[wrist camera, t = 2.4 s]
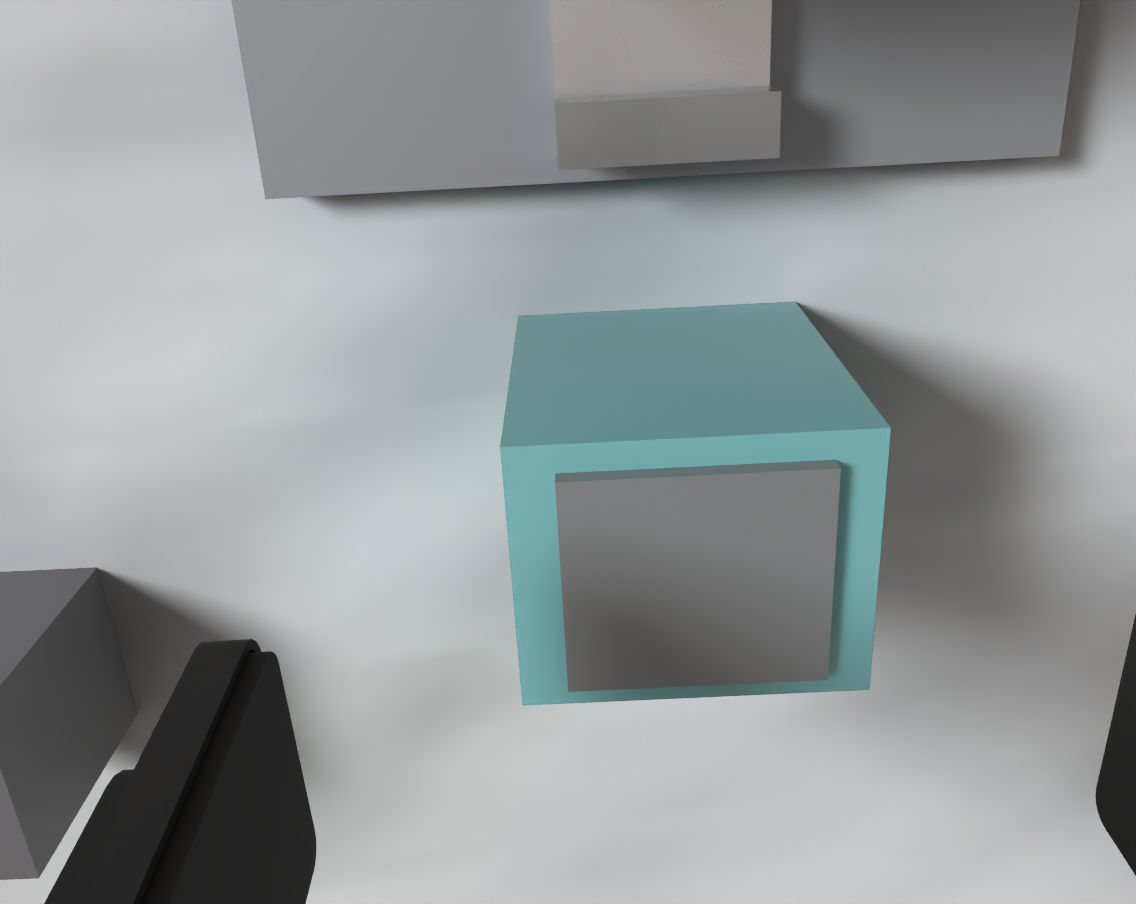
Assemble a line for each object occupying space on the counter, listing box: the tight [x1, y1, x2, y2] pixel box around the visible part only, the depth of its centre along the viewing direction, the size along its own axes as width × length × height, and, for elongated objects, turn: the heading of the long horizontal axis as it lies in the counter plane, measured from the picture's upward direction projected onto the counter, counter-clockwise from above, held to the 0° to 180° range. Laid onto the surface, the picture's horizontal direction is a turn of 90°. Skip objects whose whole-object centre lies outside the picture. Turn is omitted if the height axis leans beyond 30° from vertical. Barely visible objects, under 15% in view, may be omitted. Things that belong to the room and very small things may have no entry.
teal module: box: [500, 302, 891, 705], centre depth 18 cm, size 6×4×7 cm
